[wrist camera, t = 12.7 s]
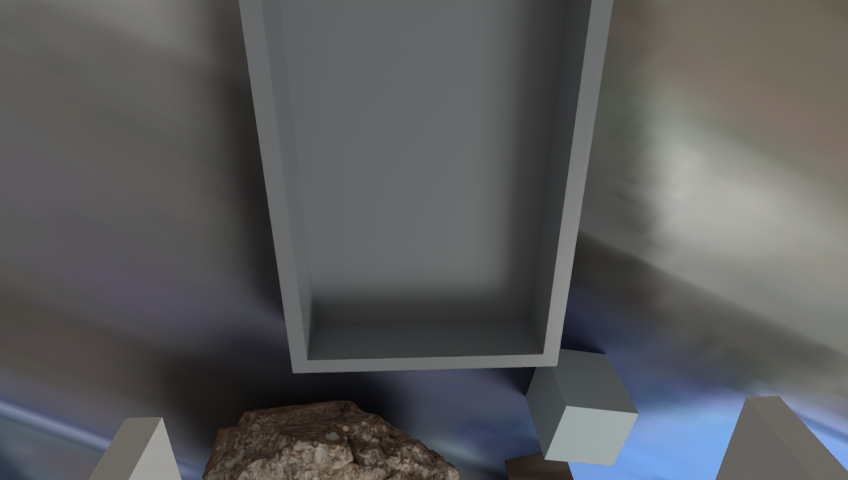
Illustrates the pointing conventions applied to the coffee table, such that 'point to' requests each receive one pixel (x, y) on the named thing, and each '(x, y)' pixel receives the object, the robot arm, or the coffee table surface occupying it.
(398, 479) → the rock
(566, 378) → the bluegrey block
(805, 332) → the coffee table surface
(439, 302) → the grey tray
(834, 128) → the coffee table surface
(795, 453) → the robot arm
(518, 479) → the walnut cube
